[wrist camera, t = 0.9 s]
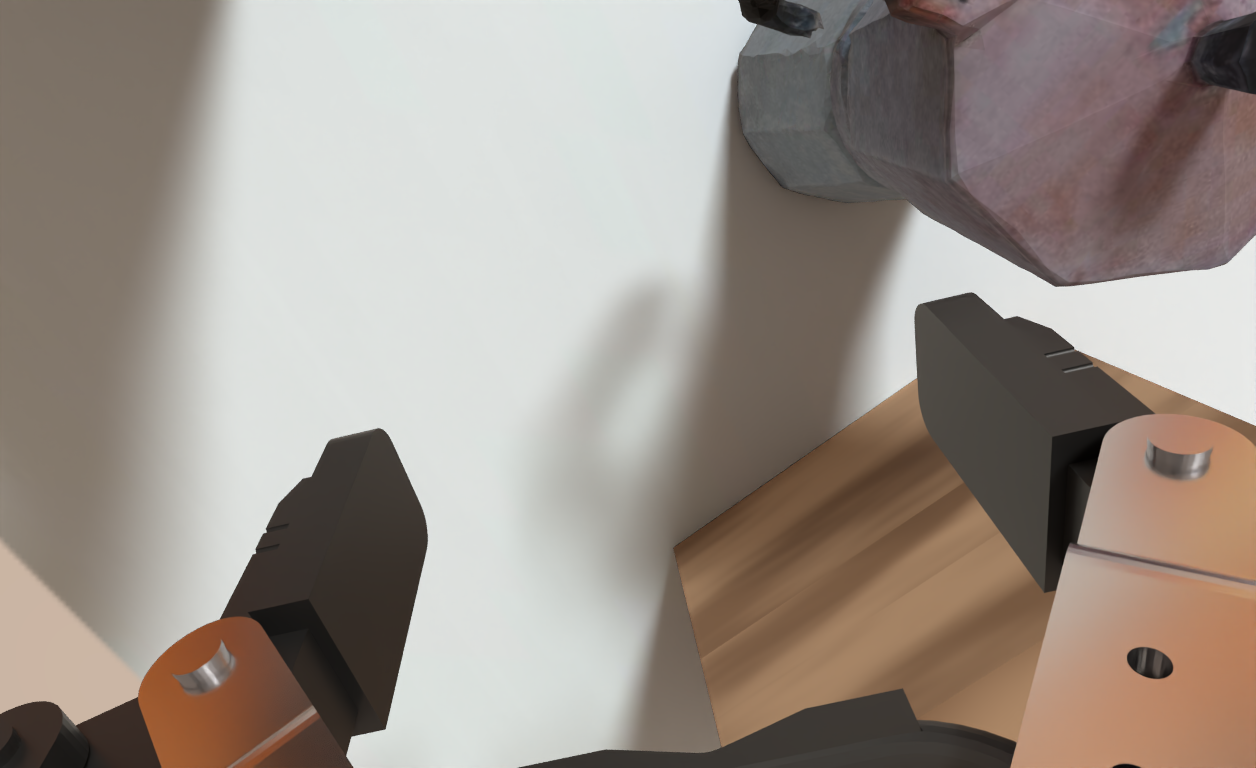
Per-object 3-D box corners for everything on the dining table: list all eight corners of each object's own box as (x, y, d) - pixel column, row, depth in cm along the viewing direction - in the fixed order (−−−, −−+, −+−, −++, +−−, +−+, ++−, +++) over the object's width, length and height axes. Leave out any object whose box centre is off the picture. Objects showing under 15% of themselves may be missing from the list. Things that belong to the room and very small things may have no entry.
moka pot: (973, 246, 34) (1478, 384, 15) (621, 172, 32) (690, 221, 13) (1051, 8, 32) (1783, -190, 12) (673, -88, 30) (851, -495, 11)
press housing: (673, 547, 37) (741, 829, 22) (1001, 318, 35) (1330, 457, 20) (799, 699, 40) (935, 1038, 25) (1109, 496, 38) (1466, 736, 23)
